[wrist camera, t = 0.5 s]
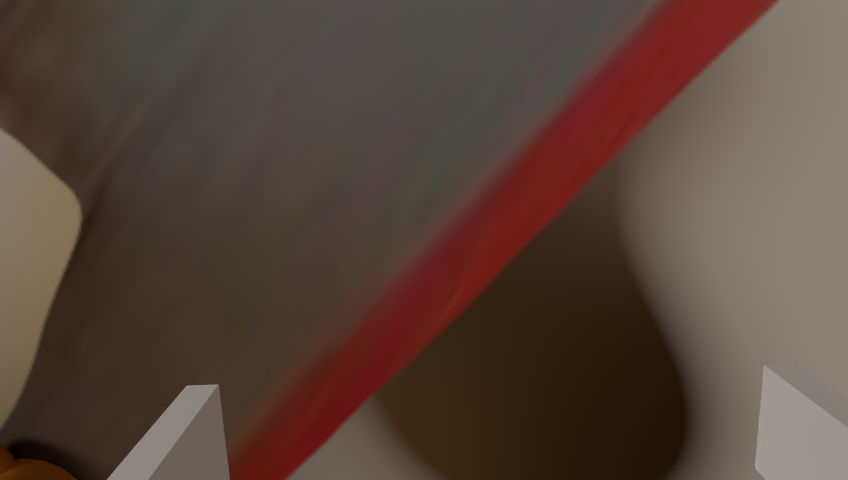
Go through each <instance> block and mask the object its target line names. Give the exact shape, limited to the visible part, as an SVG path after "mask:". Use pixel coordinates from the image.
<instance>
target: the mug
mask: <svg viewBox="0 0 848 480" xmlns="http://www.w3.org/2000/svg"><path fill="white" fill-rule="evenodd" d="M0 480H77V479H76V478H75V477H74V476H72V475H71V474H69V473H68V472H67V471H65V470H64V469H63V468H61V467H59V466H56V465H54V464H51V463H48V462H46V461H43V460H35V459H25V458H22V459H17V460H15V459H14V457H13V455H12V454H11V453H10V452H9V451H8V450H7V449H6V448H5V447H4V446H3V445H1V444H0Z"/></svg>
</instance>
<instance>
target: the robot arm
mask: <svg viewBox="0 0 848 480" xmlns="http://www.w3.org/2000/svg"><path fill="white" fill-rule="evenodd" d="M755 469H756V470H757V471H758V472H759V473H760V474H761V475H762V476H763V477H764V479H765V480H848V399H847V398H845V397H844V396H842V395H841V394H839V393H838V392H836V391H835V390H833V389H831V388H830V387H829V386H827V385H826V384H825V383H823V382H822V381H820V380H819V379H817V378H816V377H814V376H813V375H811V374H810V373H808V372H807V371H805V370H804V369H803V368H801V367H799V366H798V365H797V364H785V365H764V371H763V382H762V394H761V406H760V417H759V427H758V439H757V450H756V461H755ZM107 480H230V478H229V470H228V461H227V453H226V444H225V436H224V427H223V419H222V410H221V402H220V393H219V385H194V386H186V387H185V388H184V390H183V391H182V392H181V393H180V394H179V395H178V397H177V398H176V399H175V400H174V401H173V403H172V404H171V405H170V406H169V407H168V408H167V410H166V411H165V412H164V413H163V414H162V415H161V417H160V418H159V419H158V420H157V421H156V423H155V424H154V425H153V426H152V427H151V428H150V430H149V431H148V432H147V433H146V434H145V435H144V437H143V438H142V439H141V440H140V441H139V443H138V444H137V445H136V446H135V447H134V448H133V450H132V451H131V452H130V453H129V454H128V455H127V457H126V458H125V459H124V460H123V461H122V462H121V464H120V465H119V466H118V467H117V468H116V470H115V471H114V472H113V473H112V474H111V475H110V477H109V478H108V479H107Z"/></svg>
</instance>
